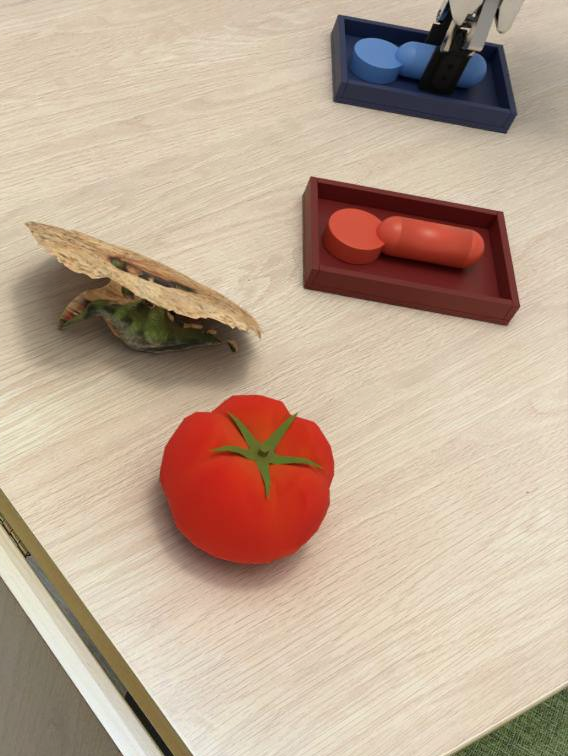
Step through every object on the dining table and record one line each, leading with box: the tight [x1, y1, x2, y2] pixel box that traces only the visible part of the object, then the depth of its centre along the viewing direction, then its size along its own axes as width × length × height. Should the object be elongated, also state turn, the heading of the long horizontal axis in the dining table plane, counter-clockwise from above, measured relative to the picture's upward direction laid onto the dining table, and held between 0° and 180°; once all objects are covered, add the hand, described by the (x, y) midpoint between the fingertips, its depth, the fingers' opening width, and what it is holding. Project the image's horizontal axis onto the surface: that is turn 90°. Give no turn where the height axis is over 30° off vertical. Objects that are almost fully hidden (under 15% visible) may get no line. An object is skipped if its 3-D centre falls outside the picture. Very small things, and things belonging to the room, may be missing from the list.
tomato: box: [158, 394, 335, 565], centre depth 62 cm, size 11×11×8 cm
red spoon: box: [322, 208, 484, 268], centre depth 79 cm, size 12×5×3 cm, turn 82°
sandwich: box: [23, 221, 266, 355], centre depth 71 cm, size 18×14×8 cm
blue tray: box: [330, 13, 518, 134], centre depth 93 cm, size 16×11×2 cm
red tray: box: [302, 175, 521, 326], centre depth 80 cm, size 16×11×2 cm
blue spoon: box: [348, 38, 487, 88], centre depth 93 cm, size 12×5×3 cm, turn 82°
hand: (433, 77), depth 94 cm, fingers closed on blue spoon, 2 cm apart
